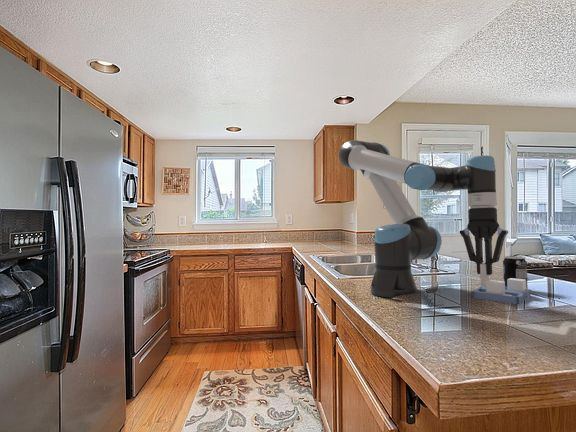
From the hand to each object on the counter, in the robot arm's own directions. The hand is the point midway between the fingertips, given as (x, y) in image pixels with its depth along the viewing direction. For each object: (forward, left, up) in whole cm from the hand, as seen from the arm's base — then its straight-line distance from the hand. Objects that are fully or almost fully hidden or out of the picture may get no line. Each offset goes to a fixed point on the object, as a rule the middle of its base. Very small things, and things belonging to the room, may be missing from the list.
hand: (485, 285), depth 102 cm
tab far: (+6, +8, -4) cm, 11 cm away
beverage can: (+4, +18, -5) cm, 19 cm away
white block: (+3, 0, -4) cm, 5 cm away
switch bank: (+3, +4, -5) cm, 7 cm away
